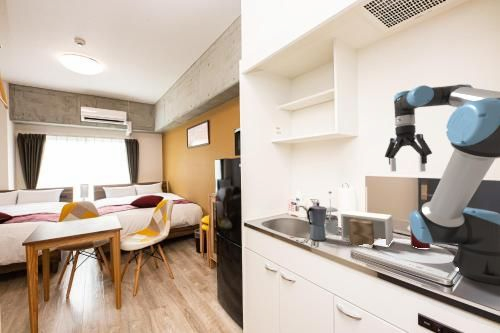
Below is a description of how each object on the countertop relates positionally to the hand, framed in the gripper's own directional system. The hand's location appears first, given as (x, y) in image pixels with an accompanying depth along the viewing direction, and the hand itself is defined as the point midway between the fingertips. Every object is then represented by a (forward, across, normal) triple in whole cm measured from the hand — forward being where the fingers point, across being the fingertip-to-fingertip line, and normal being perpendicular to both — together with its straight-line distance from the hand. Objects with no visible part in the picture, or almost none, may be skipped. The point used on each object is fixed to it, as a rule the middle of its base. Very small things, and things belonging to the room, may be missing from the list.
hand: (406, 171), depth 99 cm
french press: (+37, -38, -14) cm, 55 cm away
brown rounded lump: (+37, -14, -14) cm, 42 cm away
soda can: (+37, -1, +8) cm, 38 cm away
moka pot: (+37, -30, -29) cm, 56 cm away
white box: (+37, -18, -7) cm, 41 cm away
